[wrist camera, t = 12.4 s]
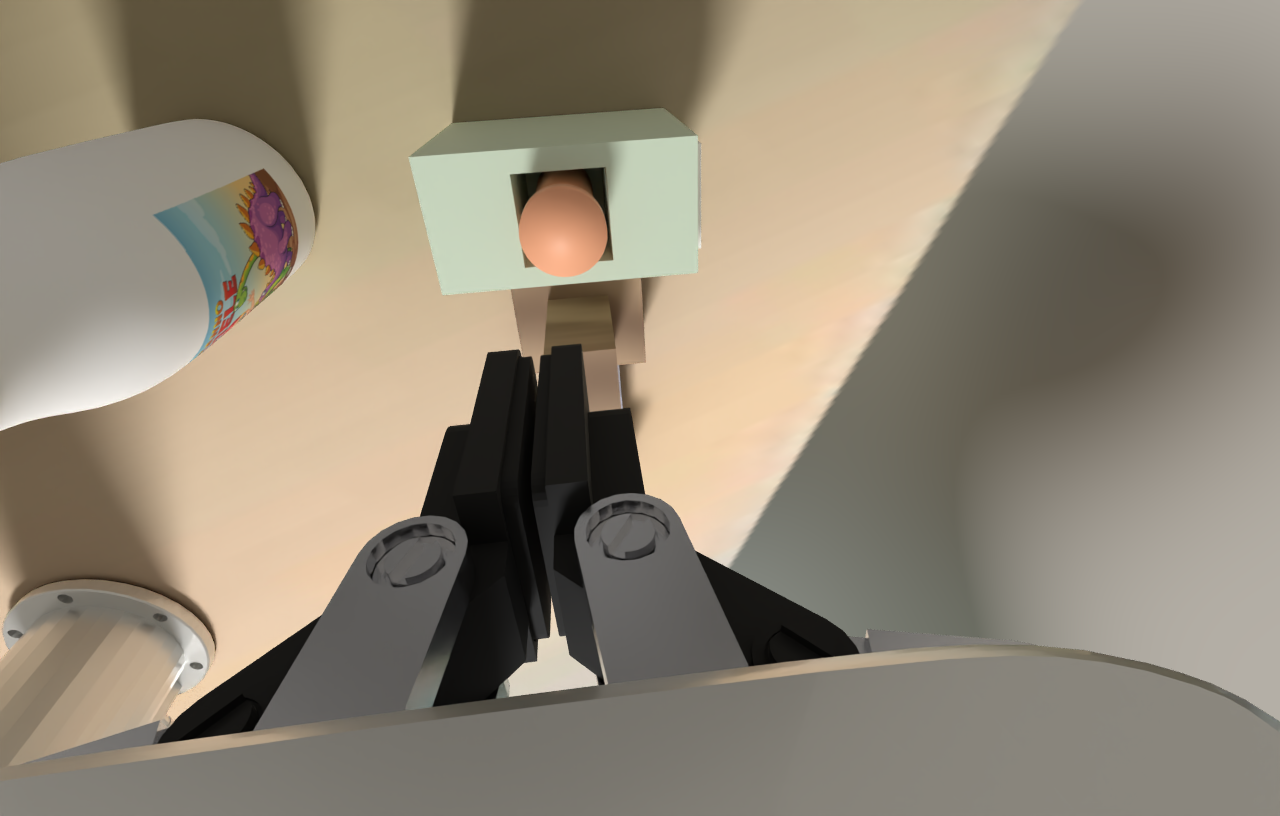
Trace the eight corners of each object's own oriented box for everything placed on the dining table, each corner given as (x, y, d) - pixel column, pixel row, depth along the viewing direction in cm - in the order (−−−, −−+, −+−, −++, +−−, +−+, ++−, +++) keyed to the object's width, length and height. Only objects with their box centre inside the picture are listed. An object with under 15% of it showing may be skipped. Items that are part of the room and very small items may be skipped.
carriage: (640, 339, 34) (660, 424, 27) (528, 350, 34) (517, 438, 27) (635, 254, 32) (655, 322, 24) (514, 264, 31) (497, 337, 24)
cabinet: (674, 213, 31) (707, 272, 24) (474, 229, 31) (442, 295, 23) (671, 107, 28) (708, 134, 21) (452, 123, 28) (408, 157, 20)
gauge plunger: (601, 221, 27) (611, 273, 21) (535, 227, 27) (526, 280, 21) (595, 150, 25) (603, 185, 20) (524, 155, 25) (512, 192, 19)
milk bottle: (120, 219, 29) (-515, 486, 12) (175, 76, 26) (-552, 160, 9) (283, 308, 32) (-39, 620, 15) (347, 189, 29) (41, 408, 12)
